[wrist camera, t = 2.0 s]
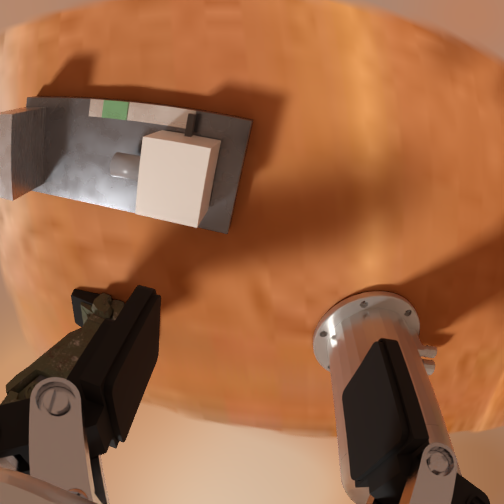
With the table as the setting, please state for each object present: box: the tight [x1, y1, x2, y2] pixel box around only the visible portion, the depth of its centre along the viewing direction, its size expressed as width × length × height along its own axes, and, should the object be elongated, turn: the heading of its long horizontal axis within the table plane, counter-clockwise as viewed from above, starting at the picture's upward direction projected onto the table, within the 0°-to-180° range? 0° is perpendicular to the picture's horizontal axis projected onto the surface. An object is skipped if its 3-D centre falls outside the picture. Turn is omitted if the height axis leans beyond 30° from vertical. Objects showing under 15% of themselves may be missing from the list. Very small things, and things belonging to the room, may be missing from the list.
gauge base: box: [0, 96, 253, 234], centre depth 24 cm, size 23×10×6 cm, turn 78°
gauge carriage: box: [110, 113, 221, 228], centre depth 23 cm, size 8×8×4 cm
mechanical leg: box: [0, 289, 125, 405], centre depth 24 cm, size 14×7×30 cm, turn 78°
